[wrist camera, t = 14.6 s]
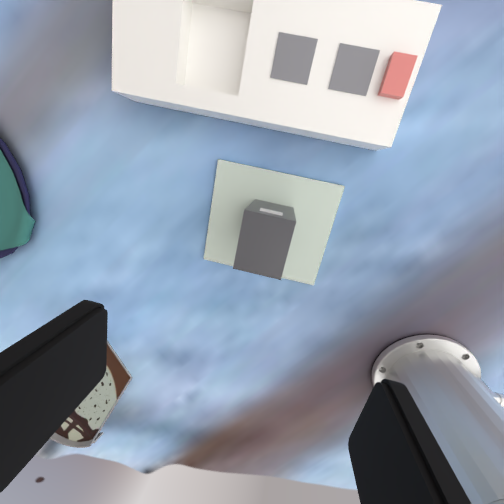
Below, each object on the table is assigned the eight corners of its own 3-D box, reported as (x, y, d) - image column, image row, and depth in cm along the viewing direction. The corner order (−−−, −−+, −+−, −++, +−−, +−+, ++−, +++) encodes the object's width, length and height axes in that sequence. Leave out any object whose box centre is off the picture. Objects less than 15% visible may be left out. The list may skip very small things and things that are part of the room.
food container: (64, 333, 39) (-6, 385, 29) (94, 321, 37) (30, 373, 28) (108, 392, 42) (56, 457, 32) (137, 384, 40) (92, 449, 31)
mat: (343, 185, 27) (344, 186, 27) (313, 283, 31) (313, 285, 31) (219, 159, 28) (218, 159, 27) (204, 257, 32) (203, 259, 31)
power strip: (415, 32, 22) (448, -2, 18) (375, 150, 26) (394, 146, 21) (140, -16, 24) (106, -60, 19) (135, 101, 27) (105, 88, 23)
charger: (293, 206, 28) (296, 219, 20) (281, 252, 30) (280, 279, 22) (255, 197, 28) (244, 207, 21) (246, 243, 30) (232, 268, 22)
